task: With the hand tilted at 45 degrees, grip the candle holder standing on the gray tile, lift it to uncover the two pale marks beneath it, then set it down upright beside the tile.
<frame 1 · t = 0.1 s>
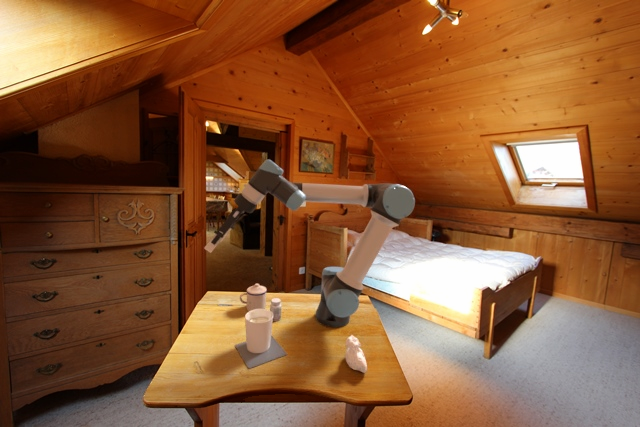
hand: (213, 245, 100), 36 cm above the table, tool tilted 35°, fingers open, 13 cm apart
teacup with lid: (253, 308, 129), on the table
candle holder: (258, 346, 101), resting on gray tile
bust: (354, 365, 95), on the table
gray tile: (260, 350, 100), on the table
pill bottle: (275, 318, 121), on the table
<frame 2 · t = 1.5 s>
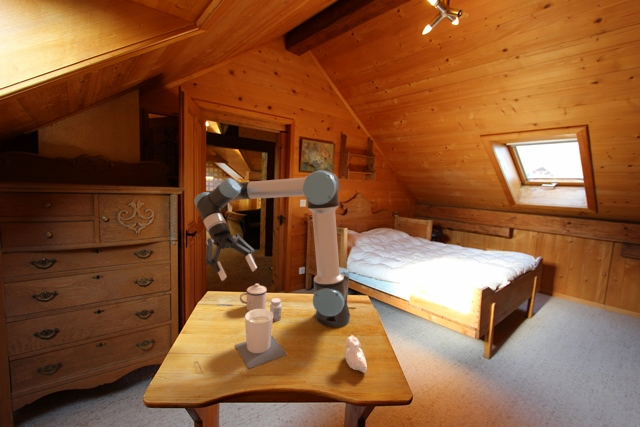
hand: (240, 274, 104), 25 cm above the table, tool tilted 45°, fingers open, 13 cm apart
nothing on the table moved.
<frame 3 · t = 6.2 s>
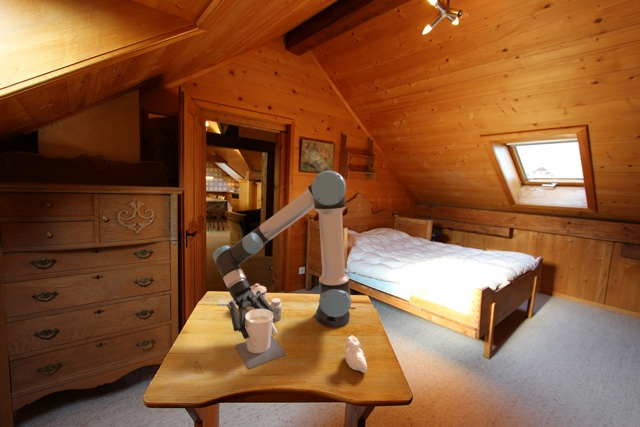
hand: (264, 339, 99), 4 cm above the table, tool tilted 45°, fingers closed on candle holder, 9 cm apart
candle holder: (258, 346, 101), resting on gray tile, touching gripper
everything else where it was.
when the fingers open (5 cm above the table, at t = 13.2 s): candle holder drops 2 cm, on the table.
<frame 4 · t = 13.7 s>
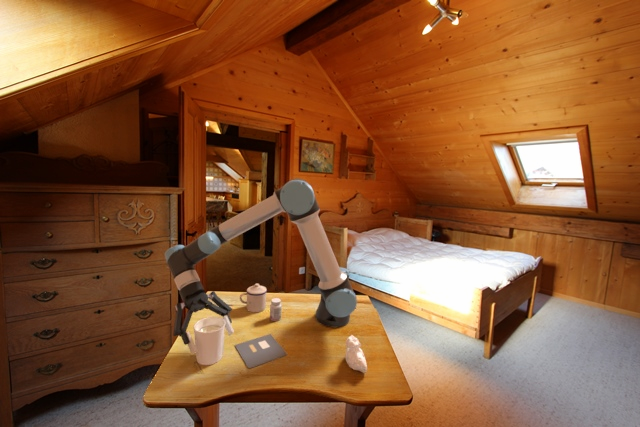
hand: (214, 342, 92), 6 cm above the table, tool tilted 45°, fingers open, 13 cm apart
candle holder: (209, 357, 95), on the table
everything else where it was.
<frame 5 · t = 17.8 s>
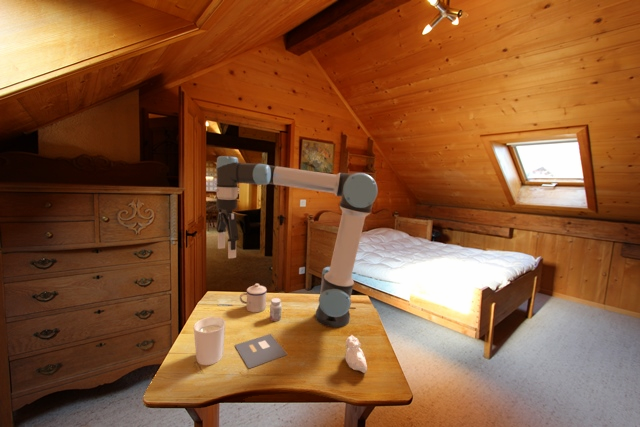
hand: (226, 252, 108), 31 cm above the table, tool pointing down, fingers open, 13 cm apart
nothing on the table moved.
at the end: candle holder touching table; candle holder tilted 0°; candle holder inside the target area (0.1 cm from its centre), on the table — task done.
